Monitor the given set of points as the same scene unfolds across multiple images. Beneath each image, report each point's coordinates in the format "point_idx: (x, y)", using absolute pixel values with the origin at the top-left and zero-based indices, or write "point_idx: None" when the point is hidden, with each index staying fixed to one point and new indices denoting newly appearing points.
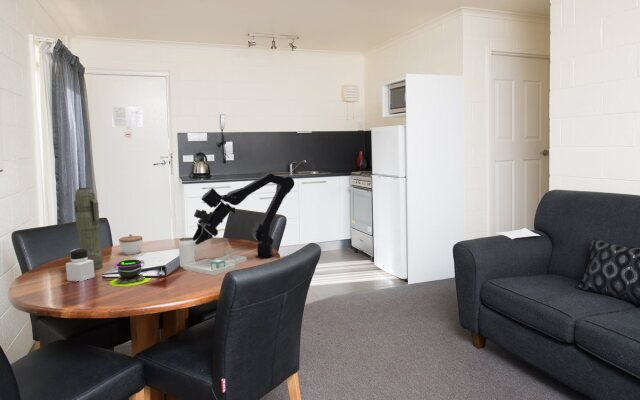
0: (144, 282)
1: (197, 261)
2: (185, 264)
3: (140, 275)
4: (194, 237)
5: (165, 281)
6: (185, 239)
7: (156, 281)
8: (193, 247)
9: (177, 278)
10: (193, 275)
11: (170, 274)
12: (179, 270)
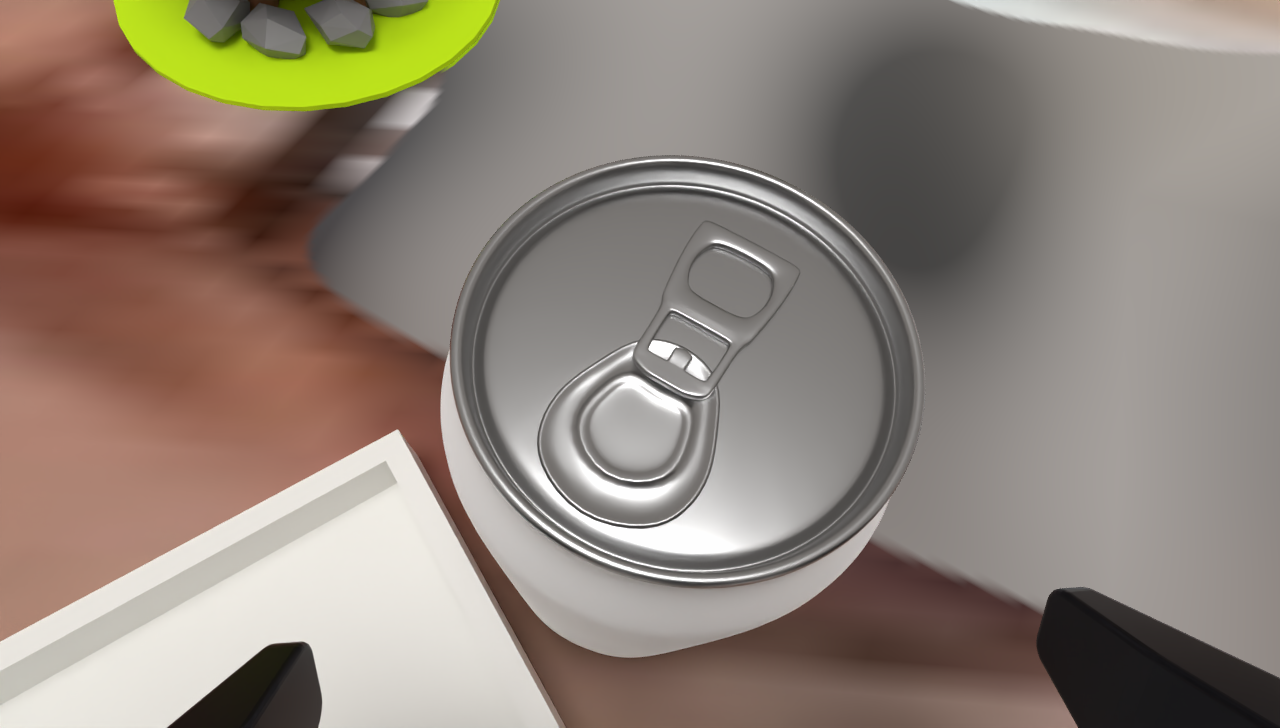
0: (137, 53)
1: (516, 686)
2: (410, 461)
3: (319, 8)
4: (1138, 689)
5: (6, 219)
6: (713, 324)
7: (93, 144)
8: (537, 602)
9: (29, 347)
10: (5, 565)
11: (309, 288)
12: None
